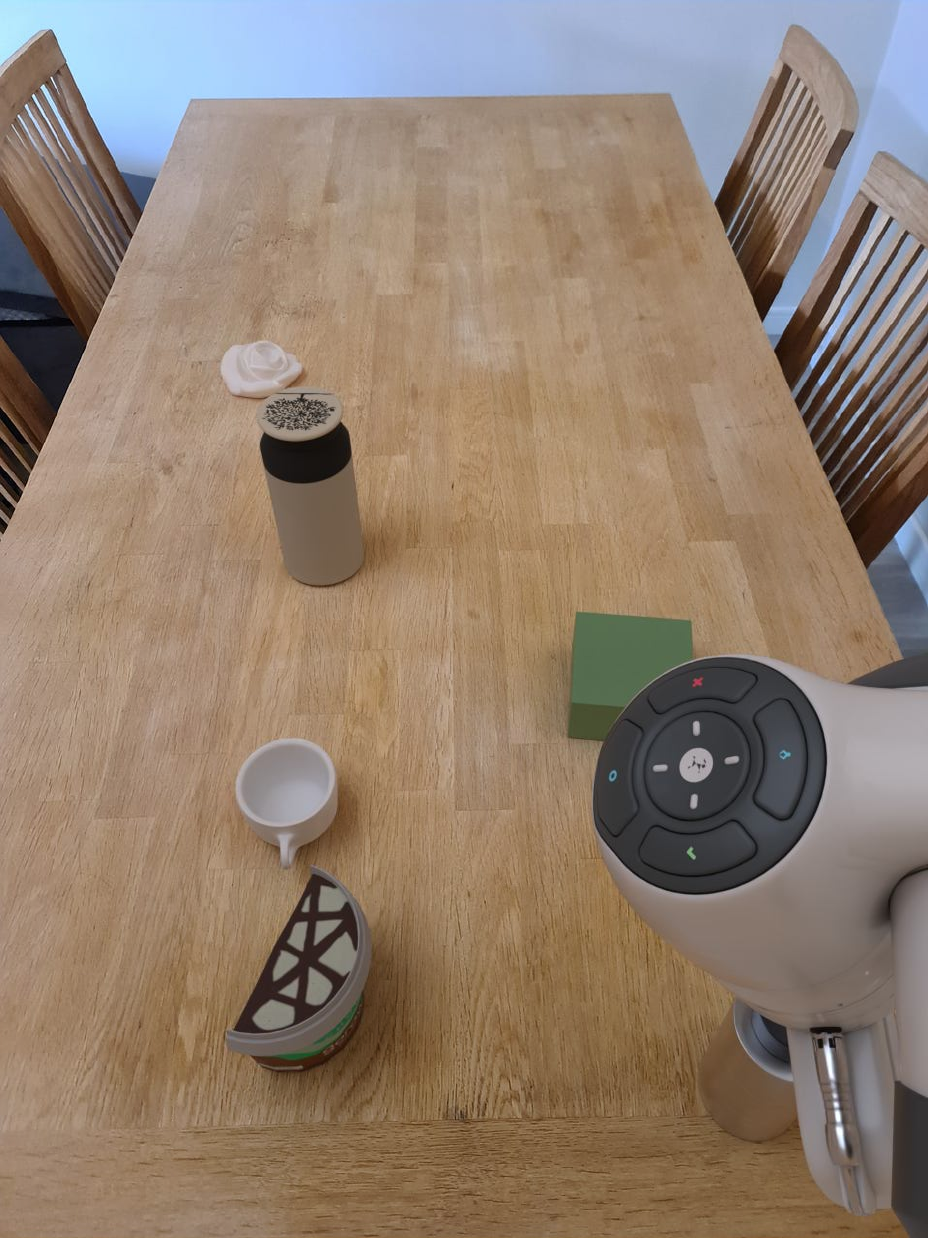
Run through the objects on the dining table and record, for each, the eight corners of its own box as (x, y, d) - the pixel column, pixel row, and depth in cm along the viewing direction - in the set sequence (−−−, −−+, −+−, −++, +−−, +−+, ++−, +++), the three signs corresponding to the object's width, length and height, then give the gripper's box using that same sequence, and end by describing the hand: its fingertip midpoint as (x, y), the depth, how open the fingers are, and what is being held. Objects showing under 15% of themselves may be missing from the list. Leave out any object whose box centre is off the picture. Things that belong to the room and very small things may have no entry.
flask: (792, 1043, 66) (850, 960, 55) (803, 1147, 61) (868, 1079, 51) (695, 1032, 66) (736, 948, 56) (700, 1135, 62) (744, 1064, 51)
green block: (682, 656, 88) (691, 619, 84) (686, 748, 81) (696, 712, 78) (572, 647, 89) (576, 611, 85) (567, 737, 82) (571, 702, 79)
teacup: (250, 778, 80) (238, 741, 76) (344, 772, 80) (336, 734, 76) (241, 891, 73) (227, 857, 69) (343, 883, 74) (335, 849, 70)
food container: (335, 1125, 63) (315, 1077, 55) (251, 1090, 64) (220, 1038, 57) (408, 950, 70) (399, 886, 63) (331, 922, 72) (313, 857, 64)
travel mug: (353, 592, 94) (331, 443, 80) (274, 582, 95) (240, 433, 81) (373, 536, 99) (356, 387, 86) (298, 527, 100) (269, 379, 87)
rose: (212, 328, 117) (292, 317, 119) (219, 360, 120) (297, 348, 122) (219, 375, 111) (303, 362, 112) (226, 407, 114) (309, 394, 115)
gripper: (952, 1219, 32) (976, 1223, 42) (845, 671, 43) (886, 781, 53) (758, 1213, 34) (826, 1217, 45) (703, 697, 45) (768, 797, 56)
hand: (858, 978), depth 49 cm, fingers open, 8 cm apart
